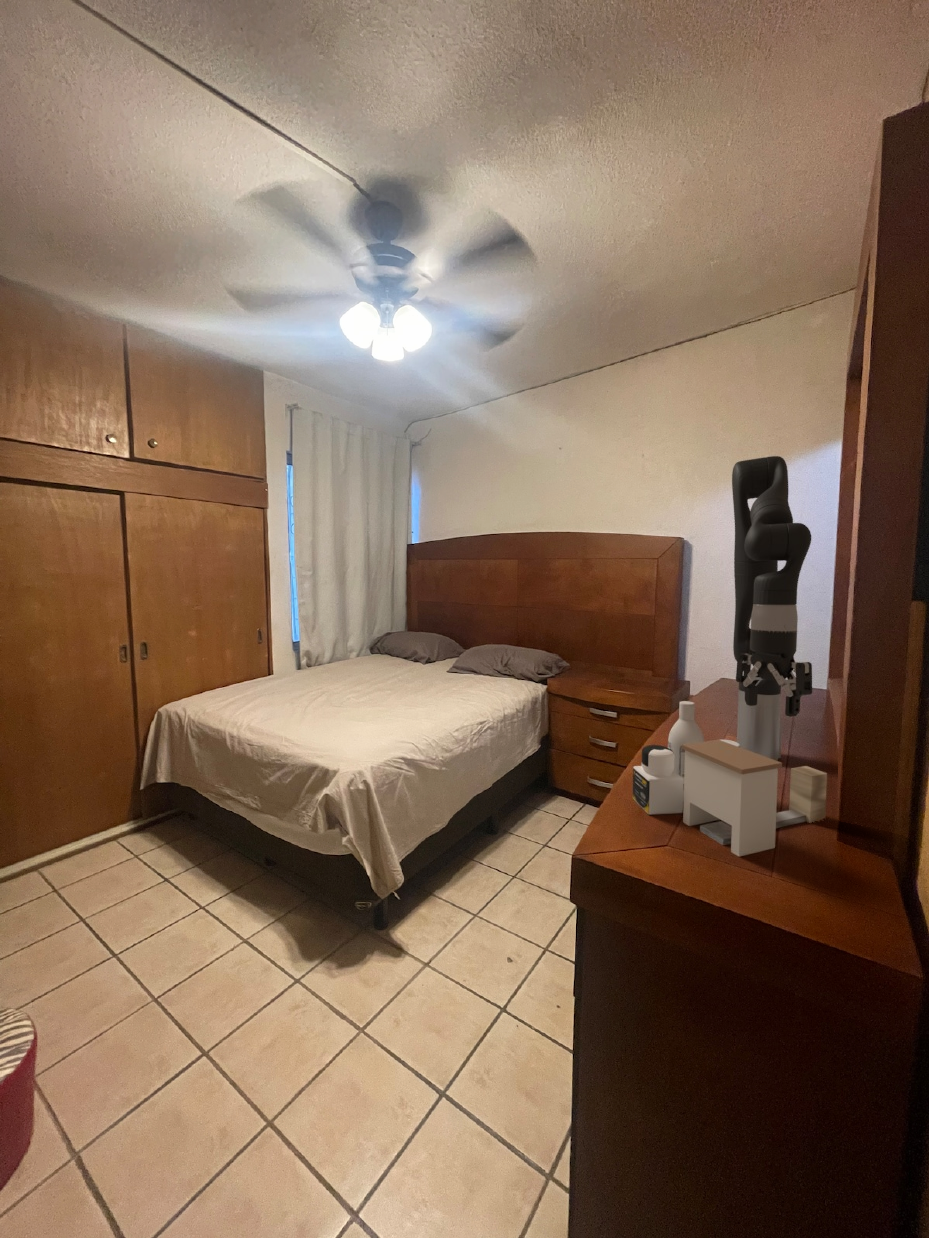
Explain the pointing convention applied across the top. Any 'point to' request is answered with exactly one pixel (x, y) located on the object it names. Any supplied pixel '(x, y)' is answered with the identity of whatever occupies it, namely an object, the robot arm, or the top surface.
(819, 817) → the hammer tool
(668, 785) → the medicine bottle
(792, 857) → the top surface
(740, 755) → the cabinet
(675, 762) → the bath foam
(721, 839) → the plate
